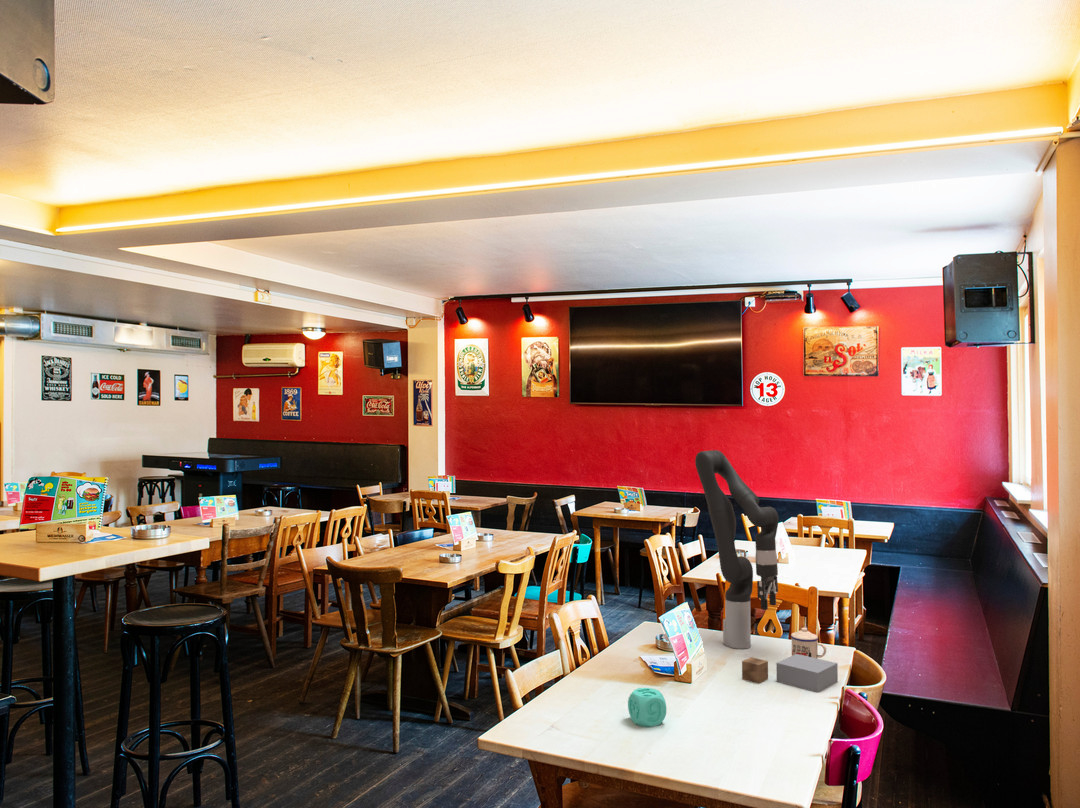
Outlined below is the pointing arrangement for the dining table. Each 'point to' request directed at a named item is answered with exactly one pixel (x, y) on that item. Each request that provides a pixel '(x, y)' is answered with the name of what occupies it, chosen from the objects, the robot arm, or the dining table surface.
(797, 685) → the slate plinth
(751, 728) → the dining table surface
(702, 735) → the dining table surface
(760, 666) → the walnut cube
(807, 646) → the teacup with lid
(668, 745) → the dining table surface
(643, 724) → the decorative dice
